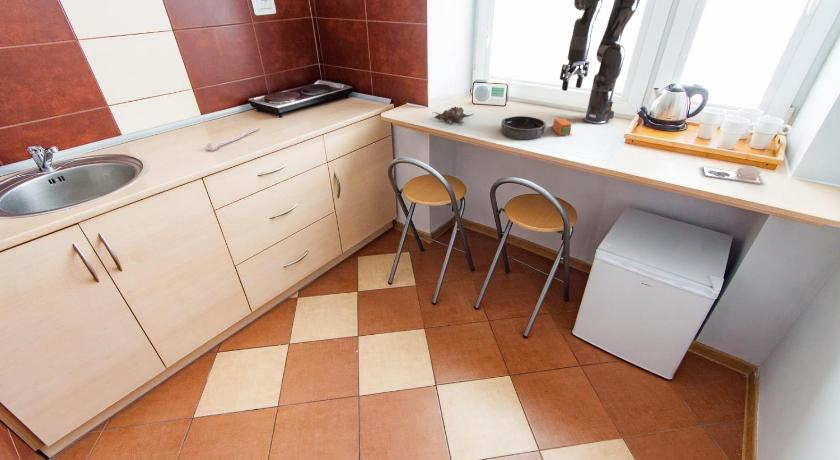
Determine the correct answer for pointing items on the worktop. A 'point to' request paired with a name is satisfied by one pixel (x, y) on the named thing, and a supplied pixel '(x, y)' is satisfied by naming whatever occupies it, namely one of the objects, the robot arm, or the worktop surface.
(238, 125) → the worktop surface
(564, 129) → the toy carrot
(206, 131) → the worktop surface
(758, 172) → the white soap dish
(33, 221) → the worktop surface
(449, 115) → the figurine
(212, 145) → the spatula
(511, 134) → the pan
